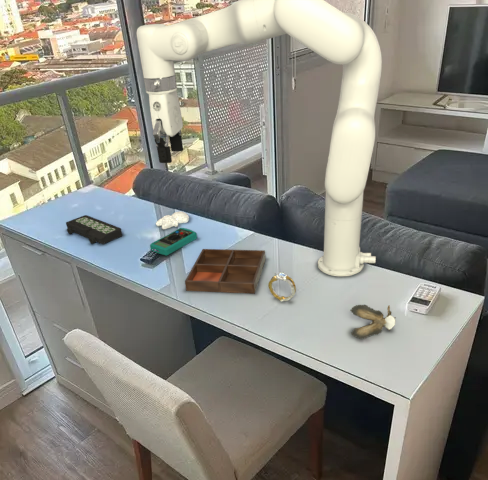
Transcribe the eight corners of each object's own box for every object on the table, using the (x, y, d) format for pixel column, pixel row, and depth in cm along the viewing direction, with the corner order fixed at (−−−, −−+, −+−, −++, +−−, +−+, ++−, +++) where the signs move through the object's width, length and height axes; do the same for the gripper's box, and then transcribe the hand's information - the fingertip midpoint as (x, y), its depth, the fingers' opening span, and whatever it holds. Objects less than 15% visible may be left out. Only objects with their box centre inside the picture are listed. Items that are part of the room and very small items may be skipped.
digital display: (60, 222, 168) (85, 213, 173) (63, 231, 169) (87, 222, 175) (96, 237, 156) (121, 227, 161) (98, 247, 157) (123, 236, 163)
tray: (265, 259, 143) (265, 250, 141) (254, 293, 128) (254, 284, 126) (203, 257, 146) (202, 248, 145) (186, 290, 132) (184, 281, 130)
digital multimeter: (199, 238, 157) (198, 230, 156) (166, 257, 148) (165, 248, 146) (182, 233, 161) (181, 225, 160) (150, 251, 152) (148, 243, 150)
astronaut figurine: (152, 224, 169) (150, 215, 168) (182, 214, 175) (180, 205, 173) (164, 231, 164) (163, 223, 162) (194, 221, 169) (193, 212, 167)
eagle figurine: (381, 312, 115) (346, 311, 113) (395, 299, 109) (358, 298, 107) (387, 342, 112) (350, 342, 111) (402, 331, 106) (363, 331, 104)
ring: (267, 300, 125) (265, 273, 120) (273, 294, 127) (272, 267, 122) (291, 307, 122) (291, 279, 117) (297, 300, 124) (297, 273, 119)
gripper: (164, 91, 110) (175, 167, 120) (186, 77, 123) (194, 146, 133) (132, 92, 111) (146, 167, 121) (157, 78, 125) (168, 147, 135)
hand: (171, 156), depth 127 cm, fingers open, 9 cm apart
